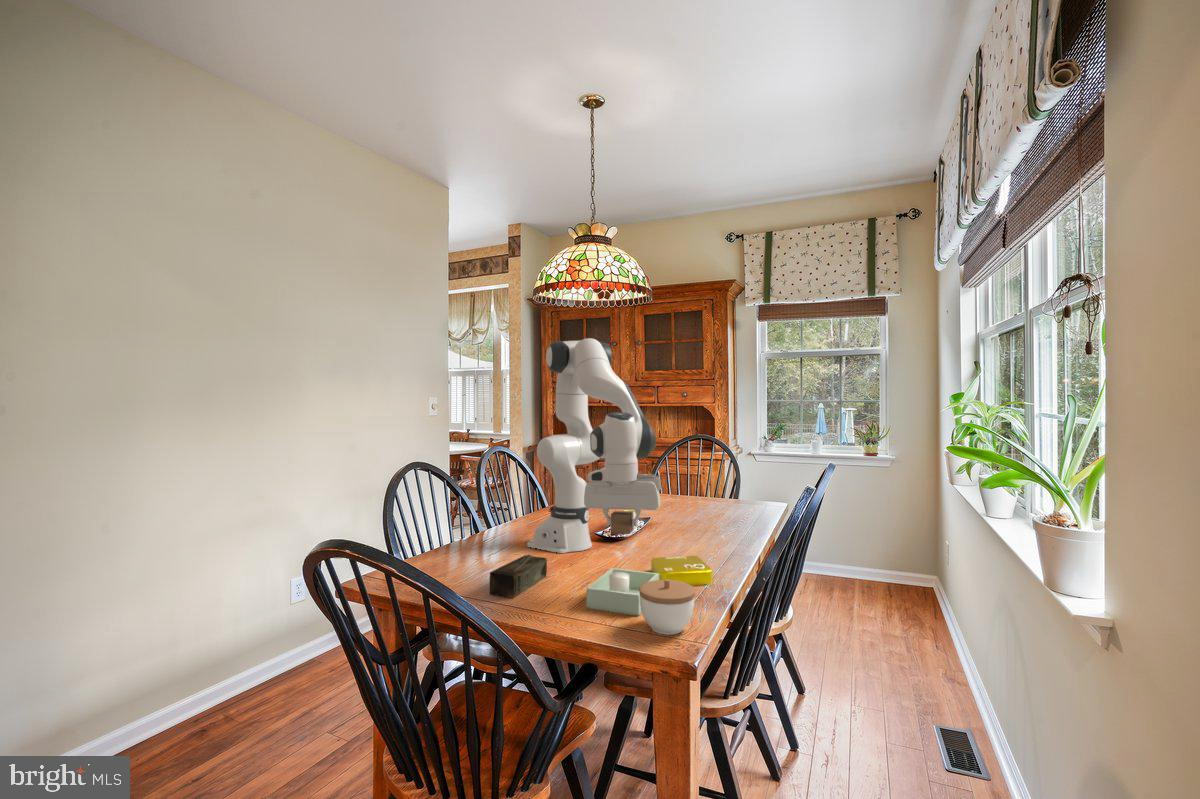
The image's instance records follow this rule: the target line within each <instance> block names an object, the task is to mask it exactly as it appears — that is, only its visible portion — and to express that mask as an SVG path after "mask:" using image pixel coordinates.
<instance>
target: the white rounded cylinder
mask: <svg viewBox="0 0 1200 799" xmlns="http://www.w3.org/2000/svg"><path fill="white" fill-rule="evenodd" d="M609 590H611V591H618V592H626V593H629V575H628V574H626V573H622V572H615V573H611V574H610V578H609Z"/></svg>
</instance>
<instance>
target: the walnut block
mask: <svg viewBox="0 0 1200 799" xmlns="http://www.w3.org/2000/svg"><path fill="white" fill-rule="evenodd" d="M610 517H611V526H610V534H612V535H613V534H614V535H617V534H618V535H630V534H632V532H634V526H631V519H634V511H633V510H632V511H631V510H614V511H613V512H612V513H611V514H610Z"/></svg>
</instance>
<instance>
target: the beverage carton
mask: <svg viewBox="0 0 1200 799" xmlns="http://www.w3.org/2000/svg"><path fill="white" fill-rule="evenodd" d="M547 563H548V558H547V557H541V556H536V555H535V556H533V555H532V554H526V555H525V554H524V555H523V556H521V557H519V558H517V559H514V560H512V561H510V562H508V563H506V564H504V565H502V566H500V567H498V568H496V569H494V570H492V571H490V572H489V595H492V596H497V595H498V596H497V597H502V596H503V597H502V598H507V597H509V599H514V598H515V596H516V597H517V596H519V595H521V594H522V593H524V592H525V591H527V590H529V589H531V588H532V587H533V586H535V585H537V584H538V583H539V581H540V580H541V581H542V579H543V578H544V579H546V578H547V573H548V566H547V565H548V564H547ZM545 577H546V578H545ZM544 579H543V580H544ZM541 581H540V582H541ZM537 582H538V583H537ZM536 583H537V584H536ZM534 584H535V585H534ZM531 586H532V587H531ZM528 588H529V589H528ZM523 591H524V592H523Z"/></svg>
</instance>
